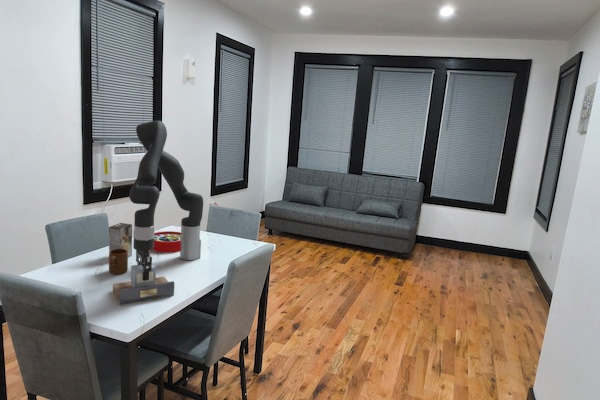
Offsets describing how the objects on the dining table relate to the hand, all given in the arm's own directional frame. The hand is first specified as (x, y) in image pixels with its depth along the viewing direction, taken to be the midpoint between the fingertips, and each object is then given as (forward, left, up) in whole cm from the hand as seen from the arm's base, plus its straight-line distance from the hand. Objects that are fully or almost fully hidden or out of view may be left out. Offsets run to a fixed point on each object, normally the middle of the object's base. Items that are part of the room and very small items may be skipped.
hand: (143, 276), depth 158 cm
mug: (+5, -24, -7) cm, 25 cm away
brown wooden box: (0, 0, -7) cm, 7 cm away
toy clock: (-27, -52, -7) cm, 59 cm away
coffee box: (-1, -44, -7) cm, 45 cm away
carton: (0, 0, -4) cm, 4 cm away
